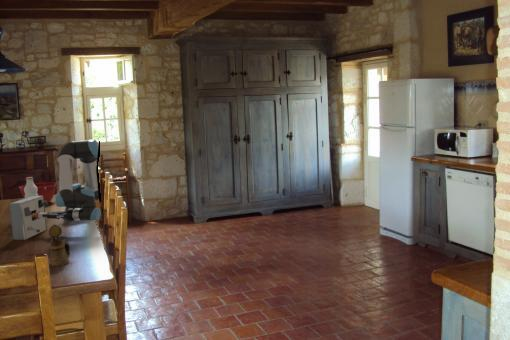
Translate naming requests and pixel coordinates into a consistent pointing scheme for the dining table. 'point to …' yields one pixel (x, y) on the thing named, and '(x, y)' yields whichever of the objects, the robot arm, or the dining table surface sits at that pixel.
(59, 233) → the brass bell
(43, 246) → the dining table surface
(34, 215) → the brass plunger
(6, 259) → the dining table surface
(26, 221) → the control box
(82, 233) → the dining table surface
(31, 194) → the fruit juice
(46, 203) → the black plunger
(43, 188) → the mixing bowl
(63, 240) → the beverage carton
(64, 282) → the dining table surface
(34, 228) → the steel lever
